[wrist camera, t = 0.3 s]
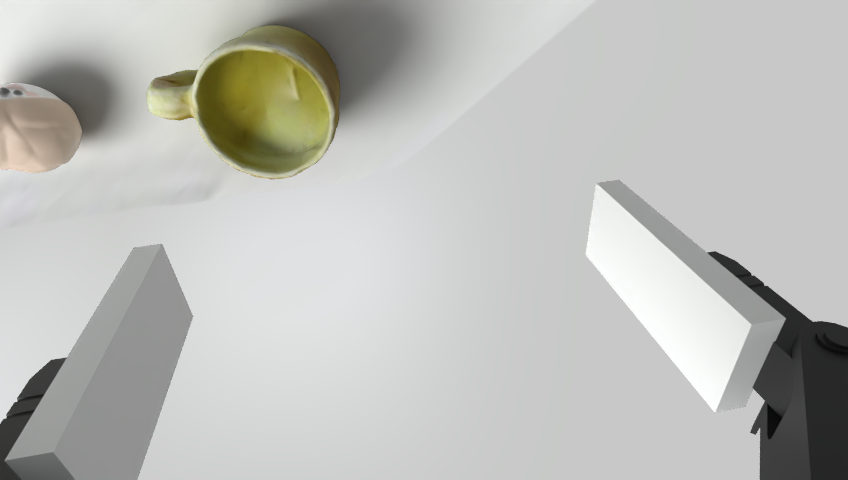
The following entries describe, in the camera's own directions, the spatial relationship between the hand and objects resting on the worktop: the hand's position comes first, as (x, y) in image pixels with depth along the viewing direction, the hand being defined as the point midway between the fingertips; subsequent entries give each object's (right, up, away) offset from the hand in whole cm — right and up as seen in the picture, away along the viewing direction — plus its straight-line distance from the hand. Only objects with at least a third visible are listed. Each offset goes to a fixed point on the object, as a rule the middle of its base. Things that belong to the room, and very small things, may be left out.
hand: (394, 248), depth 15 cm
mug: (-12, +13, +23) cm, 29 cm away
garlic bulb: (-28, +10, +21) cm, 36 cm away
